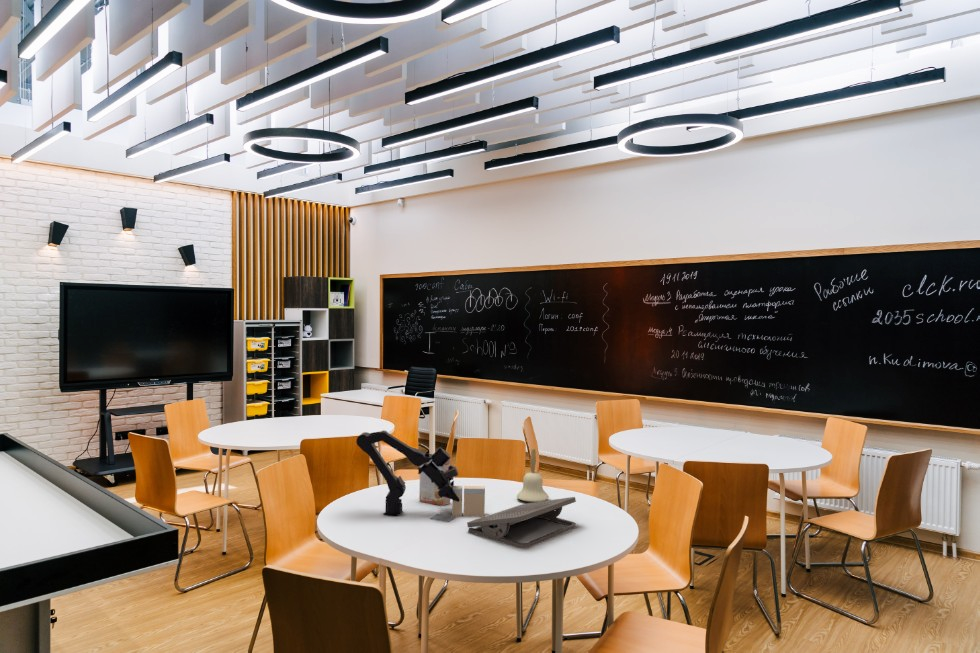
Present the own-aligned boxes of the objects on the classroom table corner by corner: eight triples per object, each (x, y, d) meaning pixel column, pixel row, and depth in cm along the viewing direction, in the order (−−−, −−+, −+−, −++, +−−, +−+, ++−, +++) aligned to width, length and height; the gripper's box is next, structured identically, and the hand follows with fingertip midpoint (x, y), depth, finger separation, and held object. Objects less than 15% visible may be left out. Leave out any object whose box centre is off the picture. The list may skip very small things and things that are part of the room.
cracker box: (450, 503, 294) (451, 458, 294) (442, 506, 289) (443, 460, 289) (426, 498, 302) (427, 454, 302) (418, 501, 297) (419, 456, 296)
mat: (430, 519, 270) (430, 518, 270) (437, 514, 277) (437, 513, 277) (449, 521, 267) (449, 520, 267) (455, 517, 274) (455, 516, 274)
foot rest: (523, 512, 284) (524, 484, 284) (580, 527, 264) (580, 497, 264) (463, 532, 255) (464, 501, 255) (522, 551, 235) (522, 517, 235)
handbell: (521, 505, 292) (522, 451, 292) (512, 496, 307) (513, 445, 307) (553, 503, 296) (554, 450, 296) (542, 495, 311) (543, 444, 311)
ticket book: (463, 516, 275) (464, 488, 275) (463, 513, 280) (464, 485, 279) (484, 516, 275) (484, 488, 275) (484, 513, 280) (484, 486, 280)
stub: (452, 516, 275) (452, 488, 275) (452, 512, 279) (453, 485, 279) (461, 516, 275) (462, 488, 275) (461, 513, 280) (462, 485, 279)
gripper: (446, 466, 268) (472, 492, 268) (448, 456, 286) (472, 481, 287) (427, 484, 268) (453, 510, 268) (431, 473, 286) (455, 498, 286)
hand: (459, 499), depth 277 cm, fingers closed on stub, 4 cm apart
